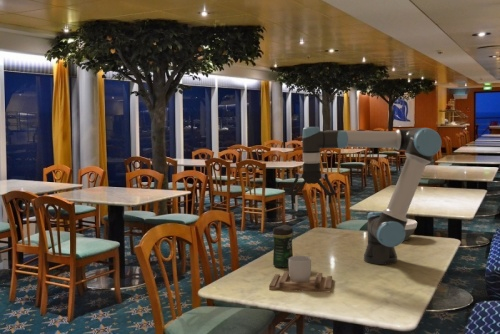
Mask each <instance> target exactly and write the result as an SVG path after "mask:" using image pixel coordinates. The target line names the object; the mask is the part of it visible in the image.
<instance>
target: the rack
mask: <svg viewBox="0 0 500 334" xmlns="http://www.w3.org/2000/svg"><path fill="white" fill-rule="evenodd" d="M332 282H333V276H332V275H327V276H323V272H317V275H316V276H310V280H309V282H292V281H291V279H290V274H289V271H284V272H283V274H282V275H280V273H274V275H273V277H272V278H271V281H270V283H269V285H268V288H269V291H270V290H271V291H273V290H274V291H294V290H297V291H296V292H298V291H299V290H300V292H321V291H330V292H332V291H331V290H332ZM302 290H303V291H302Z"/></svg>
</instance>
